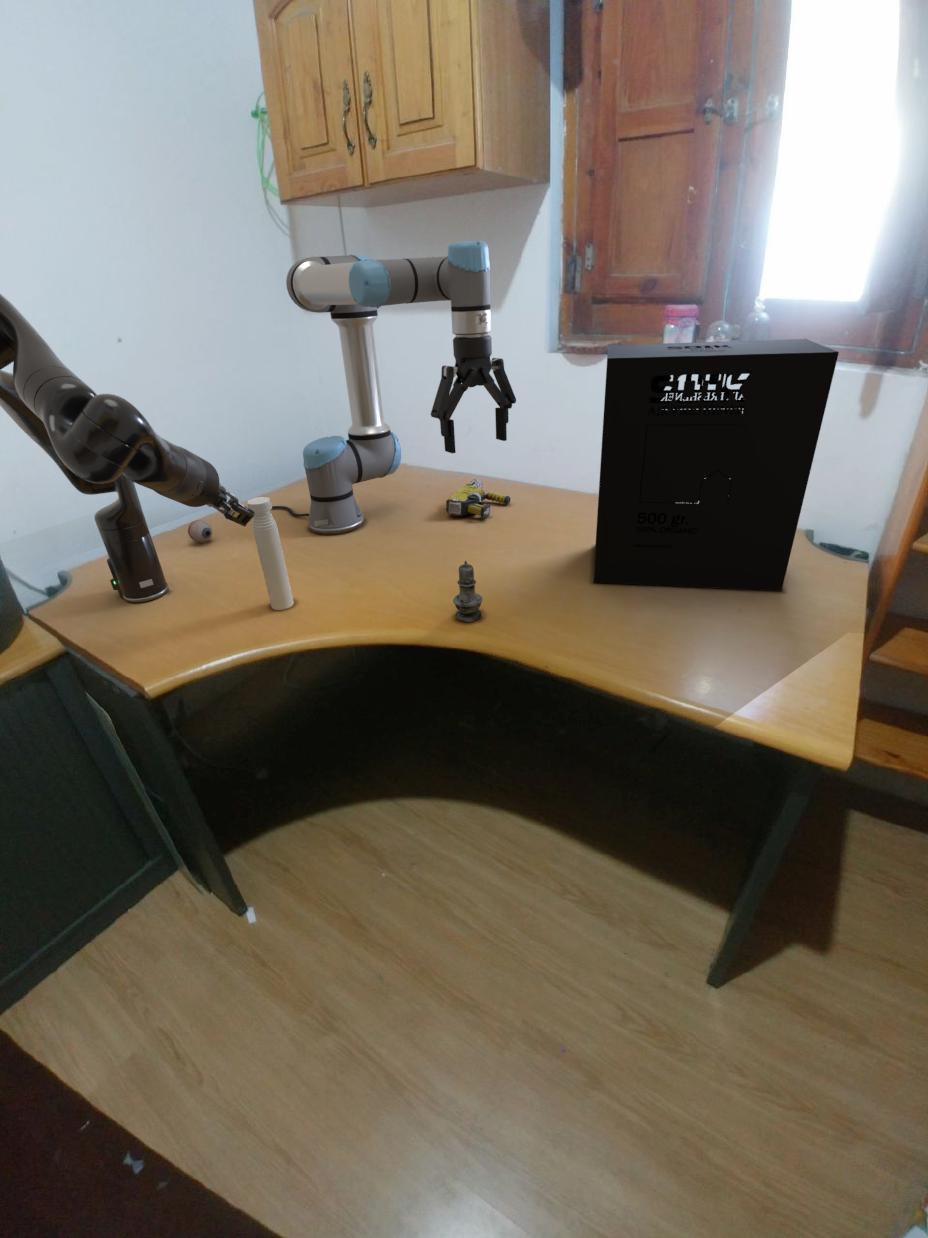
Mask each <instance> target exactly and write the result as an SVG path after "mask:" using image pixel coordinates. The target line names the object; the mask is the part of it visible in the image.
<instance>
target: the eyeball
mask: <svg viewBox="0 0 928 1238" xmlns="http://www.w3.org/2000/svg"><path fill="white" fill-rule="evenodd" d="M187 534H188V537H189V538H190V539H191V540H192V541H193V542H196V543H198V544H199V543H201V544H202V543H207V542H208V541H209V540H211V538H212V536H213V527H212V526H211V524H210V523H209V522H207V521H205V520H201V519H197V520H193V521H192V522H191V523H190V524H189V525H188V527H187Z"/></svg>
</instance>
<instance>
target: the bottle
mask: <svg viewBox="0 0 928 1238" xmlns="http://www.w3.org/2000/svg"><path fill="white" fill-rule="evenodd" d="M251 520H252V524H251V526H252V532H253V533H252V534H253V536H254V541H255V544H256V549H257V553H258V557H259V562H260V566H261V571H262V574H263V579H264V582H265V586H266V590H267V594H268V598H269V603H270V606H271V607H270V608H271V609H273V610H275V611H284V610H288V609H289V608H291V607H292V606H293V607H294V604H295V601H294V596H293V592H292V587H291V584H290V583H291V582H290V579H289V574H288V570H287V564H286V560H285V555H284V552H283V547H282V546H283V545H282V543H281V537H280V533H279V529H278V524H277V521H276V519H275V518H274V516H273V514H272V512H271V510H269V511H267V512H264V513H254V517H253V518H252V519H251Z"/></svg>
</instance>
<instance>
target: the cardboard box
mask: <svg viewBox="0 0 928 1238" xmlns="http://www.w3.org/2000/svg"><path fill="white" fill-rule="evenodd" d="M839 353H840V352H839V351H837V350H835V349H832V348H830V347H828V346H825V345H823V344H819V343H817V342H815V341H812V340H810V339H808V338H795V339H791V338H790V339H789V338H787V339H765V340H764V339H761V340H759V339H758V340H732V341H730V340H729V341H728V340H727V341H698V342H697V341H696V342H669V343H639V344H638V343H636V344H635V343H634V344H632V343H631V344H609V345H607V355H606V356H607V357H606V371H605V384H604V400H603V401H604V403H603V418H602V432H601V433H602V436H601V450H600V453H601V454H600V464H599V465H600V466H599V467H600V468H599V481H598V482H599V483H598V484H599V485H598V498H597V515H596V530H595V545H594V546H595V548H594V565H593V583H594V584H614V585H615V584H616V585H618V584H619V585H637V586H639V585H641V586H658V587H659V586H663V587H681V588H682V587H684V588H703V589H705V588H707V589H727V590H728V589H729V590H747V591H767V592H768V591H769V592H771V591H772V592H782V591H783V587H784V583H785V578H786V575H787V572H788V571H787V570H788V567H789V562H790V558H791V554H792V549H793V545H794V542H795V537H796V532H797V528H798V525H799V520H800V516H801V512H802V509H803V508H802V507H803V503H804V499H805V495H806V490H807V487H808V482H809V478H810V476H811V475H810V474H811V470H812V467H813V462H814V457H815V454H816V449H817V445H818V442H819V436H820V432H821V428H822V424H823V420H824V416H825V411H826V408H827V404H828V399H829V395H830V391H831V387H832V382H833V379H834V374H835V370H836V366H837V362H838V358H839ZM742 374H743V375H747V377H746V378H744V379H739V378H740V377H741V376H742ZM693 375H695V376H696V375H697V382H696V380H695V379H693V380H692V377H693ZM707 375H709V378H708V379H707ZM682 376H685V380H684V382H683V389H679V385H680V379H679V378H680V377H682ZM730 376H731V377H730ZM729 377H730V383H729V385H730V386H735V385H740V386H739V388H729V387H728V379H729ZM706 379H707V380H706ZM696 385H699V389H695V388H696ZM713 385H714V386H715V387H714V389H709V386H713ZM667 387H670V389H666V388H667Z"/></svg>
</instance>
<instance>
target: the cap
mask: <svg viewBox="0 0 928 1238" xmlns="http://www.w3.org/2000/svg"><path fill="white" fill-rule="evenodd" d="M272 506H273V504H272V501H271V498H270V497H268V496H267V497H266V496H260V497H253V498H251V499H249V500H247V507H248V508H250V509H252V510H253V511H254V512H255V513H264V512H267V511H271V510H273V509H272Z"/></svg>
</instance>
